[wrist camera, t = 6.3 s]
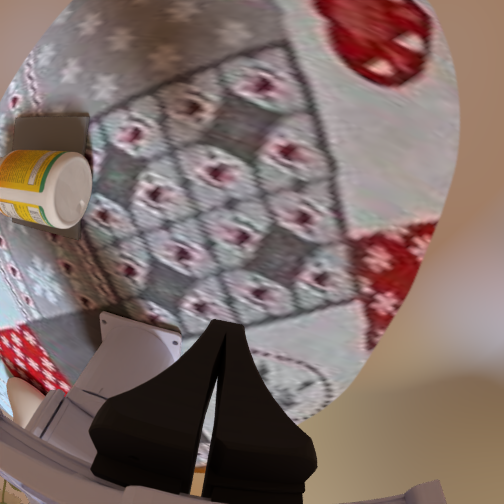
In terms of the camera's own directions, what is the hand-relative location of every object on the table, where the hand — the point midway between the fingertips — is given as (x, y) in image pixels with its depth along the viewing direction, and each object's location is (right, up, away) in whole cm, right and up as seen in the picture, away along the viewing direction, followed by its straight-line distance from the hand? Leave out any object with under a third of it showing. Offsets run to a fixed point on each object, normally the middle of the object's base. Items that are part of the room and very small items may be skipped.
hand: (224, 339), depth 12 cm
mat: (-16, +10, +7) cm, 21 cm away
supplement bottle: (-11, +8, +5) cm, 14 cm away
